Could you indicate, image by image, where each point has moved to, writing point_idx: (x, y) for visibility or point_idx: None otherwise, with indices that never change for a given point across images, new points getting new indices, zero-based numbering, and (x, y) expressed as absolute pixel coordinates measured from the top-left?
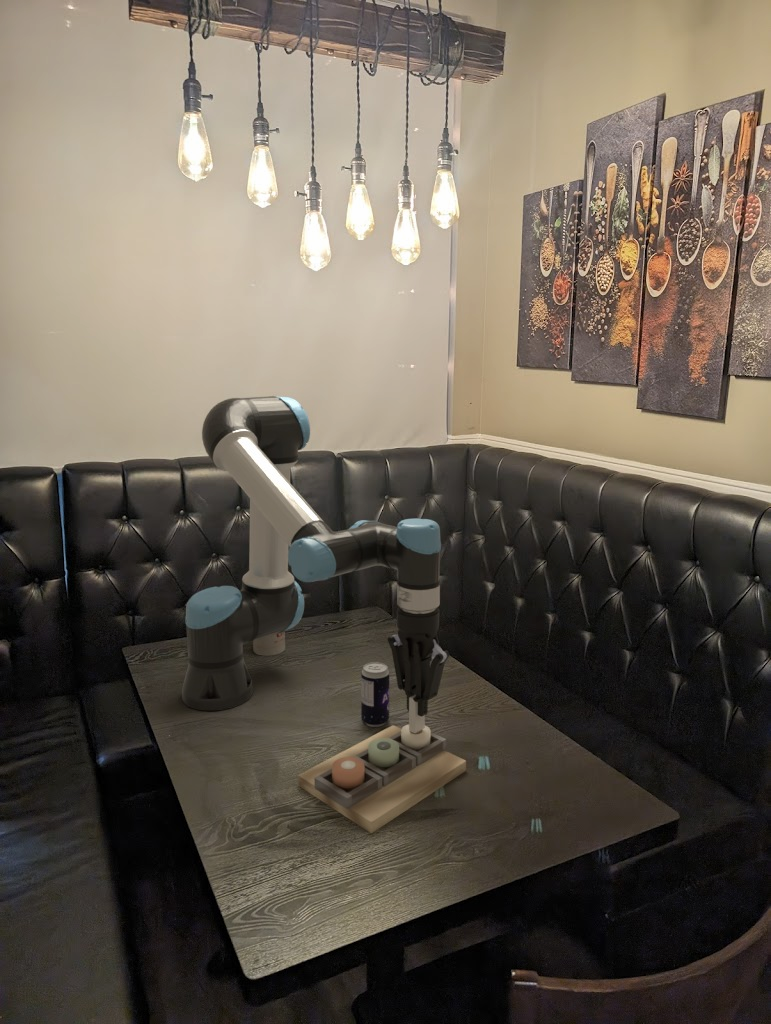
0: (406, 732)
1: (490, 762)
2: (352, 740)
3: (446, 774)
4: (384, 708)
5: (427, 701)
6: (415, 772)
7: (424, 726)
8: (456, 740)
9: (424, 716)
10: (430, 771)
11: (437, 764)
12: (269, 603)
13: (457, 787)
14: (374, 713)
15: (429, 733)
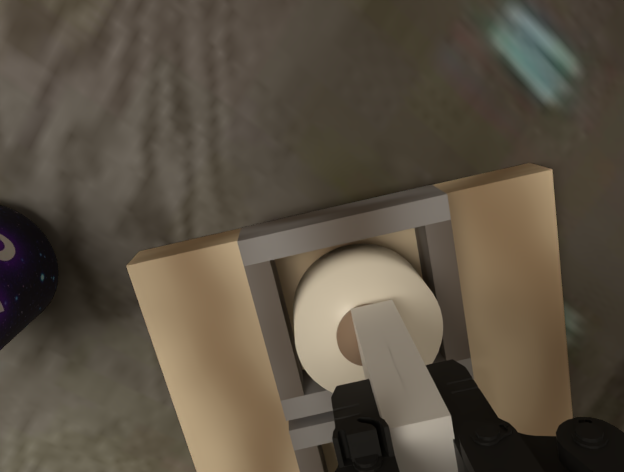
0: (354, 377)
1: (553, 28)
2: (103, 405)
3: (560, 290)
4: (18, 283)
5: (493, 413)
6: (483, 381)
7: (394, 306)
8: (331, 36)
9: (407, 333)
10: (512, 332)
11: (495, 284)
12: None
13: (580, 254)
14: (23, 326)
15: (428, 293)
